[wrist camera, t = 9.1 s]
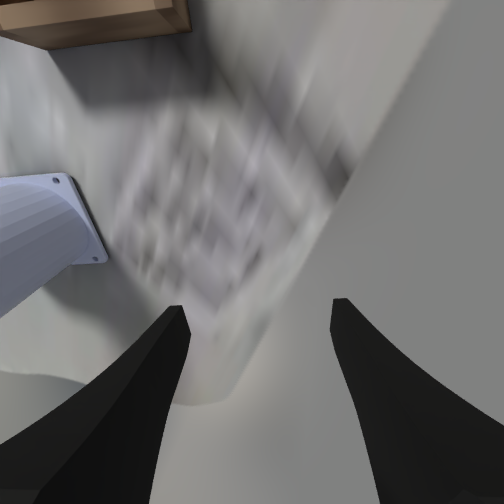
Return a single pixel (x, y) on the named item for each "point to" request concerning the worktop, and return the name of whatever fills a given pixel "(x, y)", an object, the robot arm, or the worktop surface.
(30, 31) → the big crate
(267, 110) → the worktop surface
